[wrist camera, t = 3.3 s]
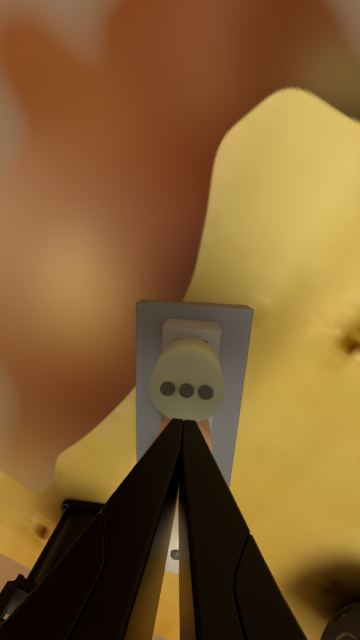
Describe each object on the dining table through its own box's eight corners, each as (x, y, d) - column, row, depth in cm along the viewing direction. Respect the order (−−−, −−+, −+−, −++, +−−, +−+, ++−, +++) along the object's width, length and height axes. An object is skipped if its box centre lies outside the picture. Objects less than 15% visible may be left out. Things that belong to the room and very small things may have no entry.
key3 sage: (164, 371, 14) (147, 420, 9) (166, 324, 13) (148, 351, 9) (213, 375, 14) (221, 428, 9) (217, 328, 13) (229, 358, 8)
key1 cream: (161, 485, 17) (146, 571, 12) (162, 452, 16) (146, 529, 11) (202, 491, 16) (204, 581, 12) (205, 457, 16) (209, 539, 11)
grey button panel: (142, 455, 21) (127, 503, 16) (143, 299, 17) (124, 307, 12) (226, 466, 20) (234, 519, 16) (246, 305, 16) (265, 316, 12)
